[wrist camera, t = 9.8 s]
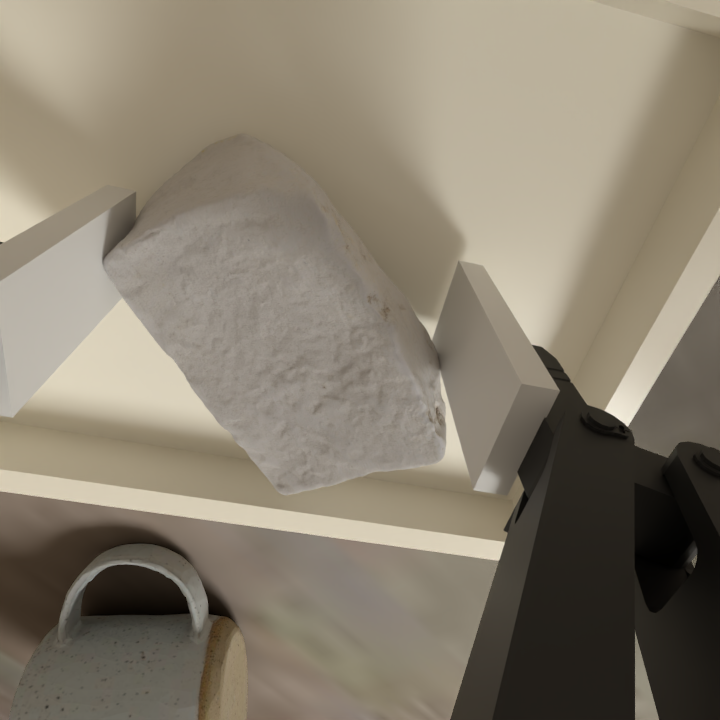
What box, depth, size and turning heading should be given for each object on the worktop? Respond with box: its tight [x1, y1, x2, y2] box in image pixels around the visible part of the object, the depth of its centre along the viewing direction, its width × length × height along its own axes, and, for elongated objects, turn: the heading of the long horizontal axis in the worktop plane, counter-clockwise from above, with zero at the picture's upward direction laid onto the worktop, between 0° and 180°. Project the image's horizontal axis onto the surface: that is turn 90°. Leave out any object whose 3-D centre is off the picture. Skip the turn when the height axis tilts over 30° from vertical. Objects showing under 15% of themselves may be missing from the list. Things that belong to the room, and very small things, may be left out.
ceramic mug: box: [9, 544, 248, 720], centre depth 22 cm, size 11×8×8 cm
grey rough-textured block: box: [103, 134, 446, 495], centre depth 15 cm, size 10×6×6 cm, turn 23°
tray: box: [0, 0, 720, 561], centre depth 15 cm, size 22×18×3 cm
